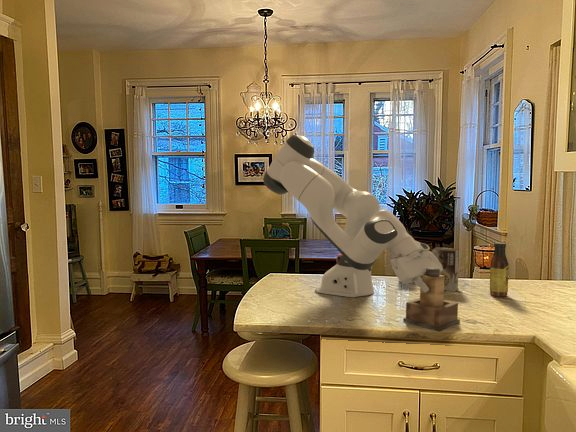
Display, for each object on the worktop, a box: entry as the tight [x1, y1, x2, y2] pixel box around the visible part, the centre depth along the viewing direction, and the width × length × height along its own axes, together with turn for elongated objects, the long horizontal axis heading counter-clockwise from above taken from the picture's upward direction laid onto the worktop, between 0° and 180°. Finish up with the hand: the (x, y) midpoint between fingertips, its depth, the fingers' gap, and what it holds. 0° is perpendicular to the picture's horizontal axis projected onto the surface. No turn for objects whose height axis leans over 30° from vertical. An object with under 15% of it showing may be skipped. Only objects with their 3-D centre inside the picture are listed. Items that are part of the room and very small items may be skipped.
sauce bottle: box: [489, 242, 510, 298], centre depth 167 cm, size 7×6×20 cm
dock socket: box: [403, 297, 461, 332], centre depth 136 cm, size 12×12×6 cm
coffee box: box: [431, 247, 460, 292], centre depth 176 cm, size 9×6×16 cm
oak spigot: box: [419, 267, 445, 308], centre depth 135 cm, size 5×5×13 cm
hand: (433, 289), depth 135 cm, fingers closed on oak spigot, 5 cm apart
